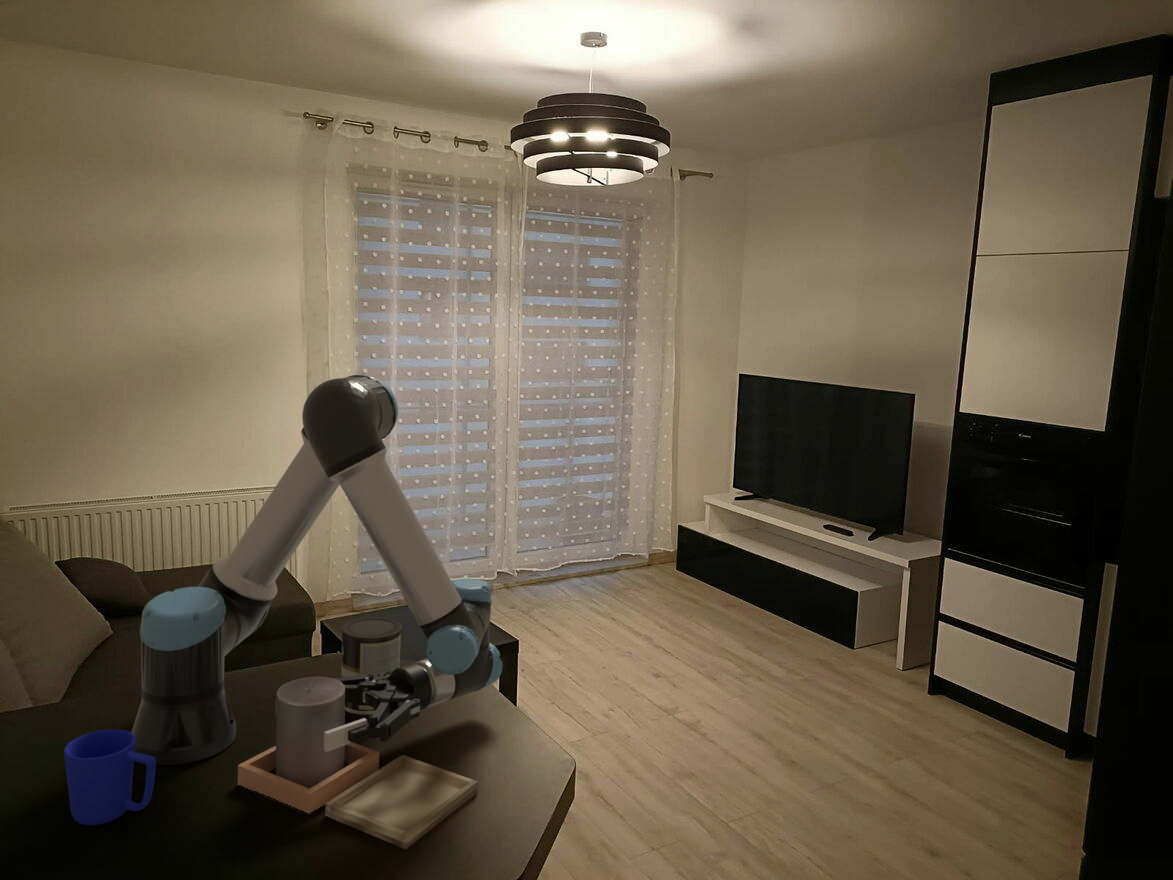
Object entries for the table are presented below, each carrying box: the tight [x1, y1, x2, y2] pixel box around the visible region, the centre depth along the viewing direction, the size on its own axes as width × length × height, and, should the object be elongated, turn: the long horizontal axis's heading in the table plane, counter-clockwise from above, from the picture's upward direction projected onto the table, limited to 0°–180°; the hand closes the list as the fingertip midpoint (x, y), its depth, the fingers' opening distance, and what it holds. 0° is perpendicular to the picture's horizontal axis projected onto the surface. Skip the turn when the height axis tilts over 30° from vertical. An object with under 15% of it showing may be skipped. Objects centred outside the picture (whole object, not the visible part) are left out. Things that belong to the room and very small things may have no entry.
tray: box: [324, 754, 479, 850], centre depth 118 cm, size 14×16×2 cm
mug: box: [63, 729, 157, 826], centre depth 111 cm, size 8×12×10 cm
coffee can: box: [340, 616, 403, 716], centre depth 148 cm, size 10×10×14 cm
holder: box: [237, 742, 380, 815], centre depth 123 cm, size 14×14×3 cm
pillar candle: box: [275, 676, 346, 789], centre depth 122 cm, size 10×10×15 cm
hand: (299, 725), depth 121 cm, fingers open, 13 cm apart
